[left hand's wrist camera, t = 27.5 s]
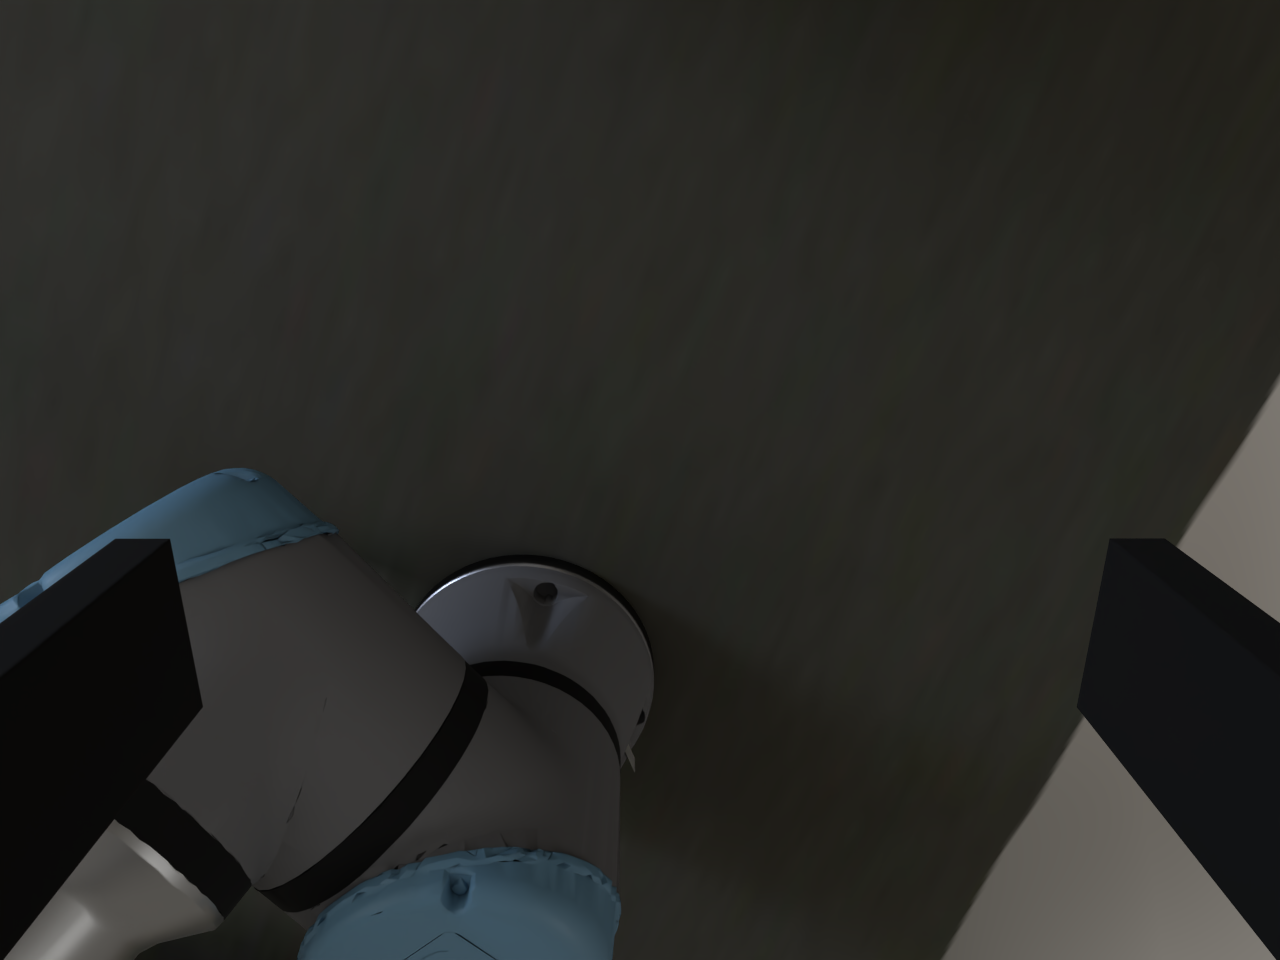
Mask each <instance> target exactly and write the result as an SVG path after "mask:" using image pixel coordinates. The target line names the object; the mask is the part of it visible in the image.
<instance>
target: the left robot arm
mask: <svg viewBox="0 0 1280 960" xmlns="http://www.w3.org/2000/svg"><path fill="white" fill-rule="evenodd" d="M338 533H339V530H338V529H337V528H336V526H334V525H333V524H331V523H328V522H323V521H322V520H320V519H319V518H318V517H317V516H315V515H314V514H313V513H312V512H311V511H310V510H309V509H307V508H306V507H305V506H304V505H303V504H302V503H301V502H299V501H298V500H297V499H296V498H295V497H294V496H293V495H291V494H290V493H289V492H288V491H287V490H286V489H285V488H284V487H282V486H281V485H280V484H279V483H278V482H277V481H276V480H274V479H273V478H272V477H270V476H268V475H266V474H264V473H262V472H259V471H256V470H253V469H248V468H231V469H224V470H220V471H217V472H214V473H211V474H209V475H206V476H204V477H201V478H199V479H197V480H195V481H193V482H191V483H189V484H187V485H185V486H183V487H181V488H179V489H177V490H175V491H174V492H172V493H170V494H168V495H167V496H165V497H163V498H161V499H160V500H158V501H156V502H154V503H153V504H151V505H149V506H147V507H146V508H144V509H142V510H141V511H139V512H137V513H136V514H134V515H132V516H131V517H129V518H127V519H126V520H124V521H123V522H121V523H119V524H118V525H116V526H114V527H113V528H111V529H110V530H108V531H106V532H105V533H103V534H102V535H100V536H99V537H97V538H95V539H94V540H92V541H91V542H89V543H88V544H86V545H85V546H83V547H82V548H80V549H79V550H77V551H76V552H74V553H73V554H71V555H69V556H68V557H67V558H65V559H64V560H62V561H61V562H59V563H58V564H57V565H55V566H54V567H52V568H51V569H50V570H48V571H47V572H45V573H44V575H43V576H42V578H41V579H40V580H39V581H36V582H34V583H32V584H30V585H29V586H27V587H26V588H25V589H23V590H22V591H21V592H20V593H19V594H17V595H15V596H14V597H12V598H10V599H8V600H7V601H5V602H3V603H2V604H0V960H134V959H135V958H136V956H137V955H138V954H139V953H140V952H142V951H144V950H146V949H148V948H150V947H152V946H154V945H156V944H157V943H161V942H165V941H169V940H174V939H178V938H182V937H186V936H190V935H194V934H199V933H203V932H207V931H211V930H215V929H216V928H217V927H218V926H219V925H220V924H221V923H222V922H223V921H224V919H225V918H226V917H227V916H228V914H229V913H230V912H231V911H232V909H233V908H234V907H235V906H236V904H237V903H238V902H239V901H240V899H241V898H242V897H243V896H244V894H245V893H246V892H247V891H248V889H249V888H250V887H251V886H253V887H254V888H255V889H256V890H257V891H259V892H260V893H262V894H263V895H264V896H265V897H267V898H268V899H269V900H270V901H272V902H273V903H274V904H275V905H277V906H278V907H279V908H280V909H282V910H283V911H284V912H285V913H286V914H287V915H289V916H290V917H291V918H292V919H294V920H295V921H296V922H297V923H299V924H300V925H301V926H302V927H303V928H305V929H306V930H307V932H306V934H305V936H304V940H303V941H302V943H301V945H300V950H299V953H298V956H297V960H612V955H613V945H614V935H615V933H616V931H617V928H618V925H619V922H618V921H619V918H620V916H621V901H620V896H619V866H620V770H621V767H622V766H623V764H624V762H625V760H626V759H627V757H628V759H629V761H630V763H631V766H632V768H633V770H634V772H635V757H634V755H633V753H632V751H631V749H632V747H633V746H634V745H635V743H636V741H637V739H638V738H639V736H640V734H641V732H642V730H643V728H644V726H645V723H646V721H647V718H648V714H649V711H650V707H651V703H652V699H653V691H654V663H653V654H652V649H651V645H650V641H649V638H648V635H647V632H646V630H645V628H644V626H643V624H642V622H641V620H640V618H639V617H638V615H637V613H636V612H635V610H634V609H633V608H632V606H631V605H630V604H629V602H628V601H627V600H626V599H625V598H624V597H623V596H622V595H621V594H620V593H619V592H618V591H617V590H616V589H615V588H613V587H612V586H611V585H610V584H608V583H607V582H606V581H604V580H603V579H602V578H600V577H598V576H597V575H595V574H593V573H592V572H590V571H588V570H586V569H583V568H581V567H579V566H577V565H574V564H571V563H569V562H566V561H562V560H558V559H555V558H549V557H544V556H535V555H509V556H500V557H495V558H490V559H486V560H483V561H479V562H476V563H474V564H471V565H468V566H466V567H464V568H462V569H460V570H458V571H456V572H454V573H453V574H451V575H449V576H448V577H446V578H445V579H443V580H442V581H441V582H440V583H438V584H437V585H436V586H435V587H434V588H433V589H432V590H431V591H430V592H429V593H428V594H427V595H426V596H425V597H424V598H423V600H422V601H421V602H420V603H419V605H418V607H417V608H416V610H414V609H413V608H412V607H411V606H410V605H409V604H408V603H407V602H406V601H405V600H404V599H403V598H402V597H401V596H400V595H399V594H398V593H397V592H396V591H395V590H394V589H393V588H392V587H391V586H390V585H389V584H387V583H386V582H385V581H384V580H383V579H382V578H381V577H380V576H379V575H378V574H377V573H376V572H375V571H374V570H373V569H372V568H371V567H370V566H369V565H368V564H367V563H366V562H365V561H364V560H363V559H362V558H361V557H360V556H359V555H358V554H357V553H356V552H355V551H354V550H353V549H352V548H351V547H350V546H349V545H348V544H347V543H346V542H345V541H344V540H343V539H342V538H341V537H340V536H339V535H338ZM1077 708H1078V709H1079V710H1080V712H1081V713H1082V714H1083V715H1084V717H1085V718H1086V719H1087V720H1088V722H1089V723H1090V724H1091V725H1092V727H1093V728H1094V729H1095V731H1096V732H1097V733H1098V734H1099V736H1100V737H1101V738H1102V739H1103V741H1104V742H1105V743H1106V744H1107V746H1108V747H1109V748H1110V749H1111V751H1112V752H1113V753H1114V755H1115V756H1116V757H1117V758H1118V760H1119V761H1120V762H1121V763H1122V765H1123V766H1124V767H1125V769H1126V770H1127V771H1128V772H1129V774H1130V775H1131V776H1132V777H1133V779H1134V780H1135V781H1136V782H1137V784H1138V785H1139V786H1140V787H1141V789H1142V790H1143V791H1144V793H1145V794H1146V795H1147V796H1148V798H1149V799H1150V800H1151V801H1152V803H1153V804H1154V805H1155V807H1156V808H1157V809H1158V810H1159V812H1160V813H1161V814H1162V815H1163V817H1164V818H1165V819H1166V820H1167V822H1168V823H1169V824H1170V826H1171V827H1172V828H1173V829H1174V831H1175V832H1176V833H1177V834H1178V836H1179V837H1180V838H1181V839H1182V841H1183V842H1184V843H1185V845H1186V846H1187V847H1188V848H1189V850H1190V851H1191V852H1192V853H1193V855H1194V856H1195V857H1196V858H1197V860H1198V861H1199V862H1200V864H1201V865H1202V866H1203V867H1204V869H1205V870H1206V871H1207V872H1208V874H1209V875H1210V876H1211V878H1212V879H1213V880H1214V881H1215V882H1216V884H1217V885H1218V886H1219V888H1220V889H1221V890H1222V891H1223V893H1224V894H1225V895H1226V897H1227V898H1228V899H1229V900H1230V902H1231V903H1232V904H1233V905H1234V907H1235V908H1236V909H1237V910H1238V912H1239V913H1240V914H1241V916H1242V917H1243V918H1244V919H1245V920H1246V922H1247V923H1248V924H1249V926H1250V927H1251V928H1252V929H1253V931H1254V932H1255V933H1256V935H1257V936H1258V937H1259V938H1260V940H1261V941H1262V942H1263V943H1264V945H1265V946H1266V947H1267V948H1268V950H1269V951H1270V952H1271V953H1272V955H1273V956H1274V957H1275V959H1276V960H1280V623H1279V622H1278V621H1276V620H1275V619H1274V618H1272V617H1271V616H1269V615H1268V614H1267V613H1265V612H1264V611H1263V610H1261V609H1260V608H1259V607H1257V606H1256V605H1254V604H1253V603H1252V602H1250V601H1249V600H1248V599H1246V598H1245V597H1244V596H1242V595H1241V594H1239V593H1238V592H1237V591H1235V590H1234V589H1233V588H1231V587H1230V586H1229V585H1227V584H1226V583H1224V582H1223V581H1222V580H1220V579H1219V578H1218V577H1216V576H1215V575H1214V574H1212V573H1211V572H1209V571H1208V570H1207V569H1205V568H1204V567H1203V566H1201V565H1200V564H1199V563H1197V562H1196V561H1194V560H1193V559H1192V558H1190V557H1189V556H1188V555H1186V554H1185V553H1184V552H1182V551H1181V550H1180V549H1178V548H1177V547H1175V546H1174V545H1173V544H1171V543H1170V542H1169V541H1167V540H1166V539H1110V540H1109V546H1108V551H1107V556H1106V561H1105V566H1104V571H1103V576H1102V581H1101V586H1100V592H1099V597H1098V602H1097V607H1096V612H1095V617H1094V622H1093V627H1092V632H1091V637H1090V643H1089V648H1088V653H1087V658H1086V663H1085V668H1084V673H1083V678H1082V683H1081V688H1080V694H1079V699H1078V704H1077Z"/></svg>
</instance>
